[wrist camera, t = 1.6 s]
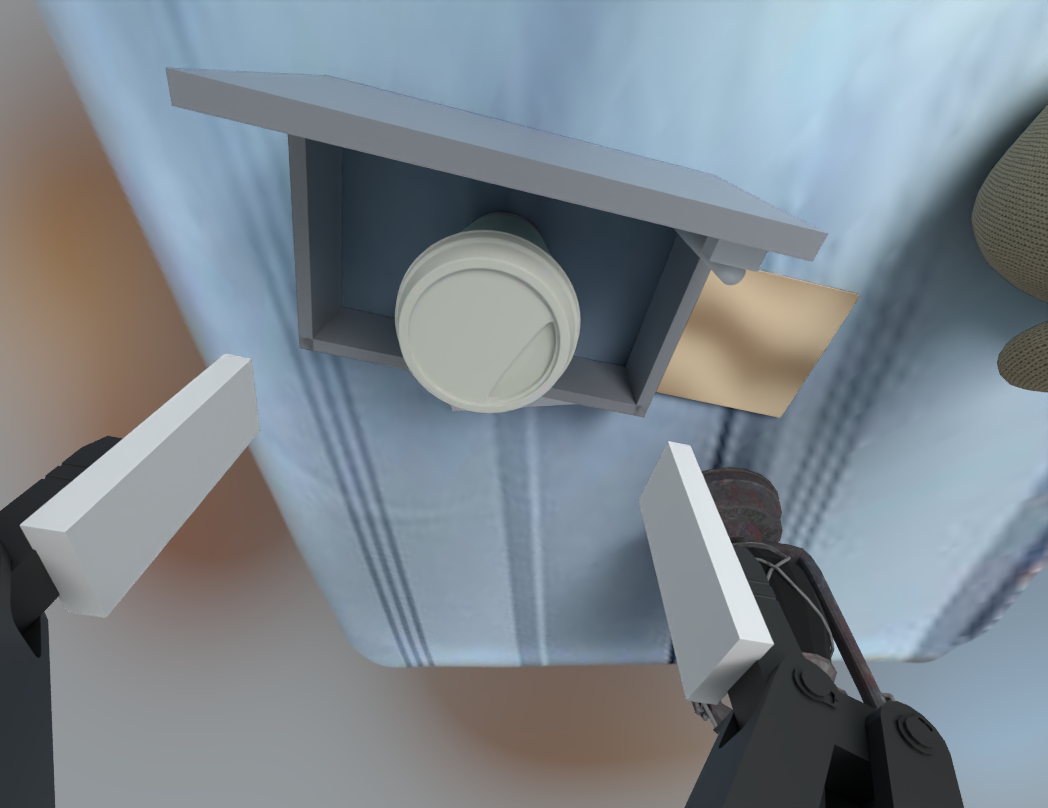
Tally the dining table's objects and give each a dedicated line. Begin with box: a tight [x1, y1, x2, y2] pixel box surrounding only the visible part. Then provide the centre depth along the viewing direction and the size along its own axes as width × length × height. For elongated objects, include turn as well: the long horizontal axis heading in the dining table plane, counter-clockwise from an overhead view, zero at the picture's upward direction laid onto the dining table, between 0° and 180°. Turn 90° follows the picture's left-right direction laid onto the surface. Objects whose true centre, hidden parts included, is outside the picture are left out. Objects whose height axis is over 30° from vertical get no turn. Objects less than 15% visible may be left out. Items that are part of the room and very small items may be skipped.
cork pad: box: [656, 270, 860, 418], centre depth 33 cm, size 10×10×1 cm
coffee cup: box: [395, 212, 580, 413], centre depth 25 cm, size 8×8×12 cm
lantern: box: [692, 467, 895, 735], centre depth 30 cm, size 12×11×30 cm
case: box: [166, 68, 828, 417], centre depth 25 cm, size 15×22×13 cm, turn 78°
